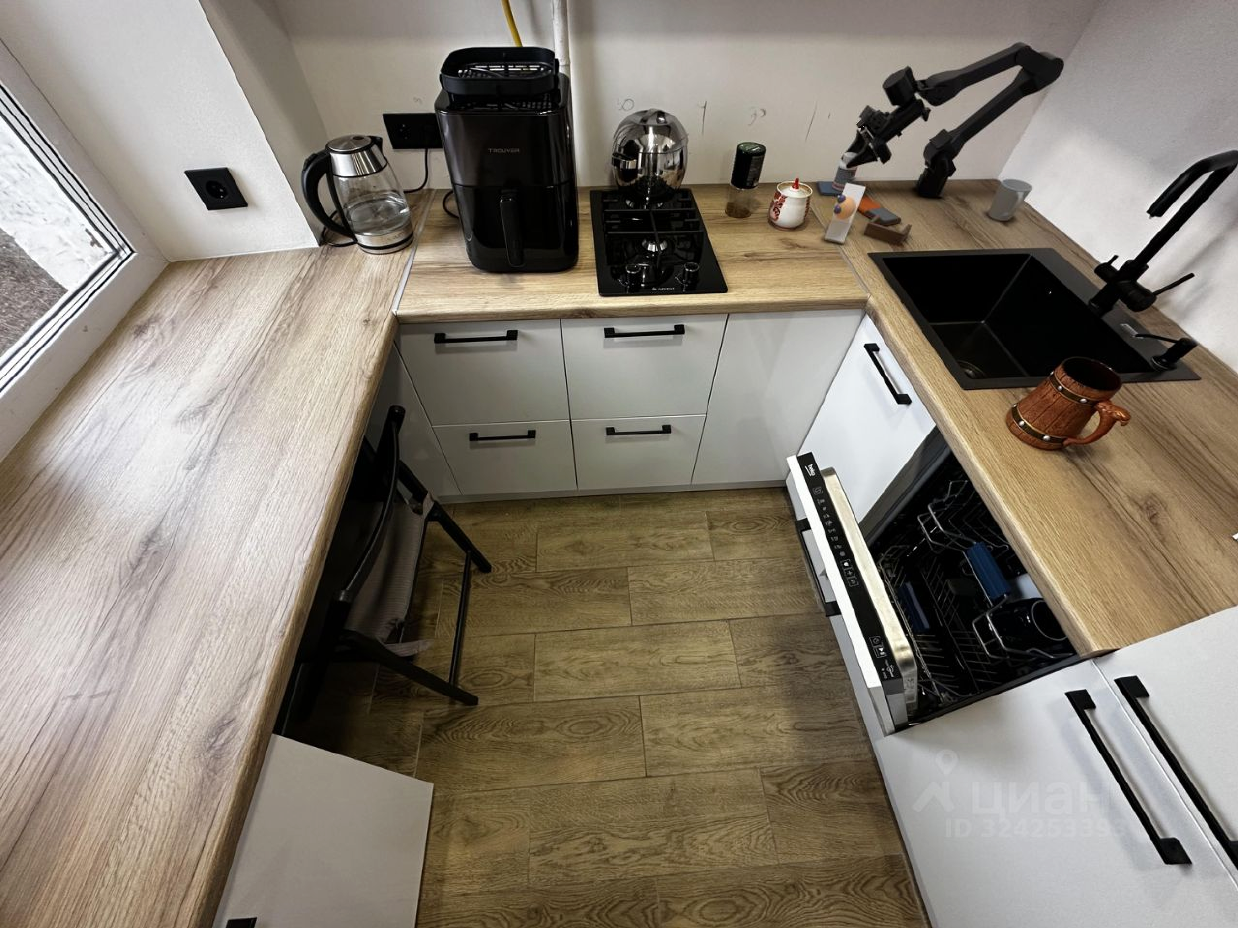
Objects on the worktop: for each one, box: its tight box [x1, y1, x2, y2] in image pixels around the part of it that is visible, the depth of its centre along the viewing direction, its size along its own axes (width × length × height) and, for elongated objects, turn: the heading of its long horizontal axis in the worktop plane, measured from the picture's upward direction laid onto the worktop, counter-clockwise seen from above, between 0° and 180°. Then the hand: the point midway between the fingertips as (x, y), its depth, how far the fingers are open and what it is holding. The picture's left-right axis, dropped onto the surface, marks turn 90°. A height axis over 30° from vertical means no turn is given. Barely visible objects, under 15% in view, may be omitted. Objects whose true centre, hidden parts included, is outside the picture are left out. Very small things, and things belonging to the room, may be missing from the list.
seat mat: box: [816, 180, 864, 198], centre depth 155 cm, size 12×8×1 cm, turn 84°
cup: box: [987, 178, 1033, 222], centre depth 142 cm, size 8×10×8 cm
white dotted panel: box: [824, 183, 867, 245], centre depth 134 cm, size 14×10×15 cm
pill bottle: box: [832, 152, 859, 191], centre depth 151 cm, size 5×5×9 cm
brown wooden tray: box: [863, 215, 913, 246], centre depth 137 cm, size 6×9×3 cm
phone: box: [857, 196, 902, 227], centre depth 145 cm, size 6×1×15 cm
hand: (844, 163), depth 150 cm, fingers closed on pill bottle, 5 cm apart
